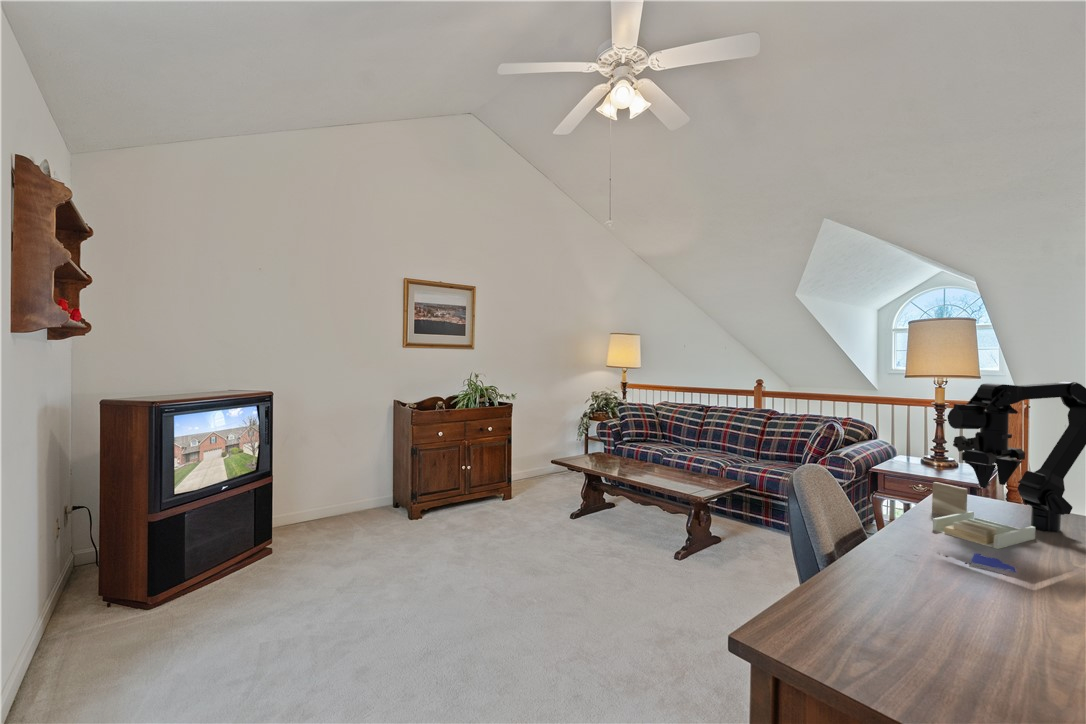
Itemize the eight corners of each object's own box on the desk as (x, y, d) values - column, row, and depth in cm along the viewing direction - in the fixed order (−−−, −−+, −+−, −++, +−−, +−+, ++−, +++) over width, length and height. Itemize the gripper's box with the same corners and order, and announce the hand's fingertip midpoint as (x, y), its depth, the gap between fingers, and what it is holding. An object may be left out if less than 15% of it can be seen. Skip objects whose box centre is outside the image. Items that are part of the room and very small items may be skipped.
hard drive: (1019, 573, 108) (1018, 557, 117) (969, 561, 114) (971, 547, 123) (1018, 580, 108) (1017, 563, 117) (968, 568, 114) (971, 553, 123)
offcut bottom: (957, 529, 135) (957, 524, 135) (999, 541, 127) (999, 535, 127) (944, 532, 133) (944, 526, 133) (986, 544, 124) (986, 538, 124)
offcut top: (964, 525, 134) (964, 520, 134) (996, 534, 127) (997, 528, 127) (953, 528, 132) (953, 522, 132) (986, 537, 125) (986, 531, 125)
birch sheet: (934, 515, 151) (935, 481, 150) (966, 524, 143) (967, 488, 143) (931, 516, 150) (932, 482, 150) (963, 524, 143) (964, 489, 142)
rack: (969, 525, 142) (970, 510, 142) (1034, 542, 130) (1035, 527, 130) (932, 533, 135) (933, 518, 135) (997, 552, 122) (998, 536, 122)
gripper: (978, 423, 150) (977, 476, 150) (940, 427, 142) (939, 482, 143) (1026, 429, 139) (1025, 485, 140) (988, 433, 132) (986, 492, 132)
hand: (992, 486), depth 139 cm, fingers open, 9 cm apart
